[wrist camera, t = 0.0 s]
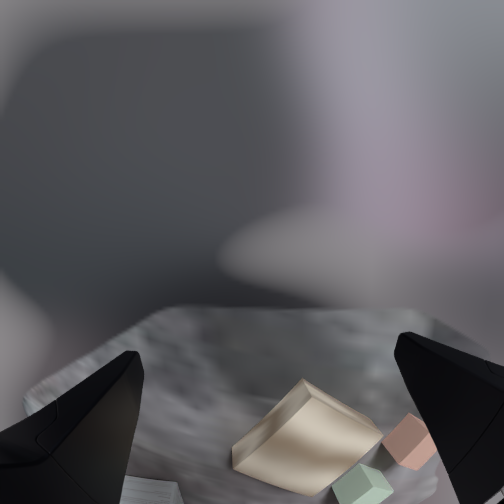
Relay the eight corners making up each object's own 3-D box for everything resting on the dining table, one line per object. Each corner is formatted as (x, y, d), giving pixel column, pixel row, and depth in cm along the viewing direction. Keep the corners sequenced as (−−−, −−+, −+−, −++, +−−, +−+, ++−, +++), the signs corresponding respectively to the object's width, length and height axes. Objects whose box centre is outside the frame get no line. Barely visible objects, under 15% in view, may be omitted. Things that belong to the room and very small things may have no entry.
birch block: (304, 475, 26) (311, 497, 22) (231, 445, 25) (232, 469, 21) (368, 417, 26) (383, 435, 22) (301, 376, 25) (312, 396, 21)
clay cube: (400, 450, 27) (417, 470, 22) (381, 441, 26) (398, 464, 21) (425, 423, 27) (445, 441, 22) (408, 412, 26) (429, 432, 21)
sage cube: (353, 491, 27) (365, 513, 22) (331, 485, 26) (342, 510, 21) (379, 470, 27) (394, 491, 22) (358, 462, 26) (373, 486, 21)
